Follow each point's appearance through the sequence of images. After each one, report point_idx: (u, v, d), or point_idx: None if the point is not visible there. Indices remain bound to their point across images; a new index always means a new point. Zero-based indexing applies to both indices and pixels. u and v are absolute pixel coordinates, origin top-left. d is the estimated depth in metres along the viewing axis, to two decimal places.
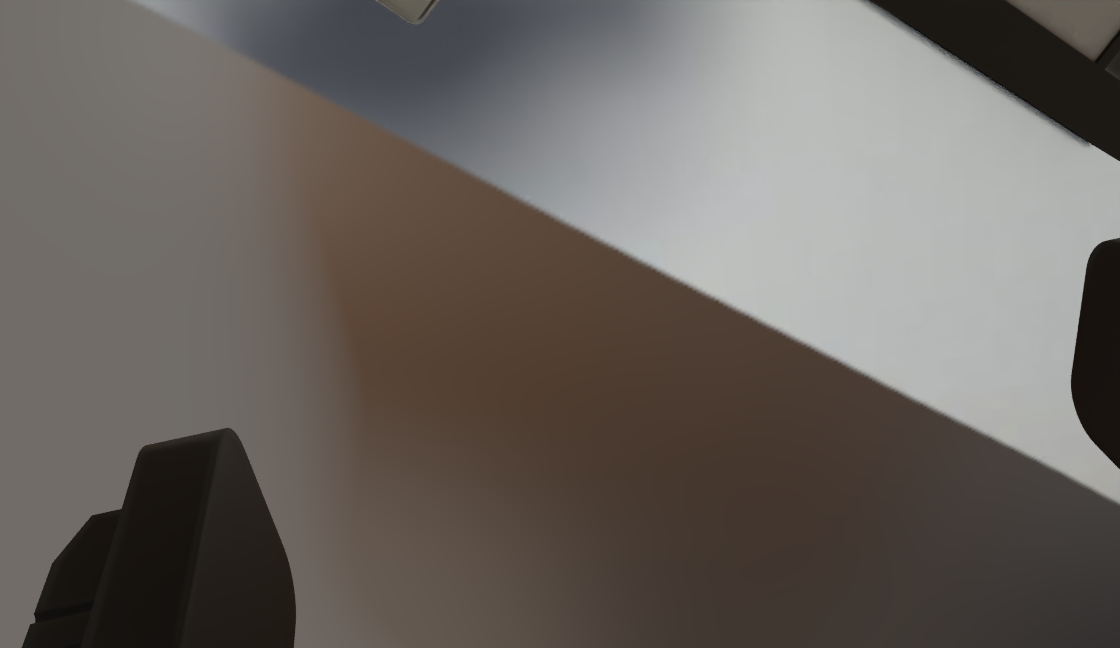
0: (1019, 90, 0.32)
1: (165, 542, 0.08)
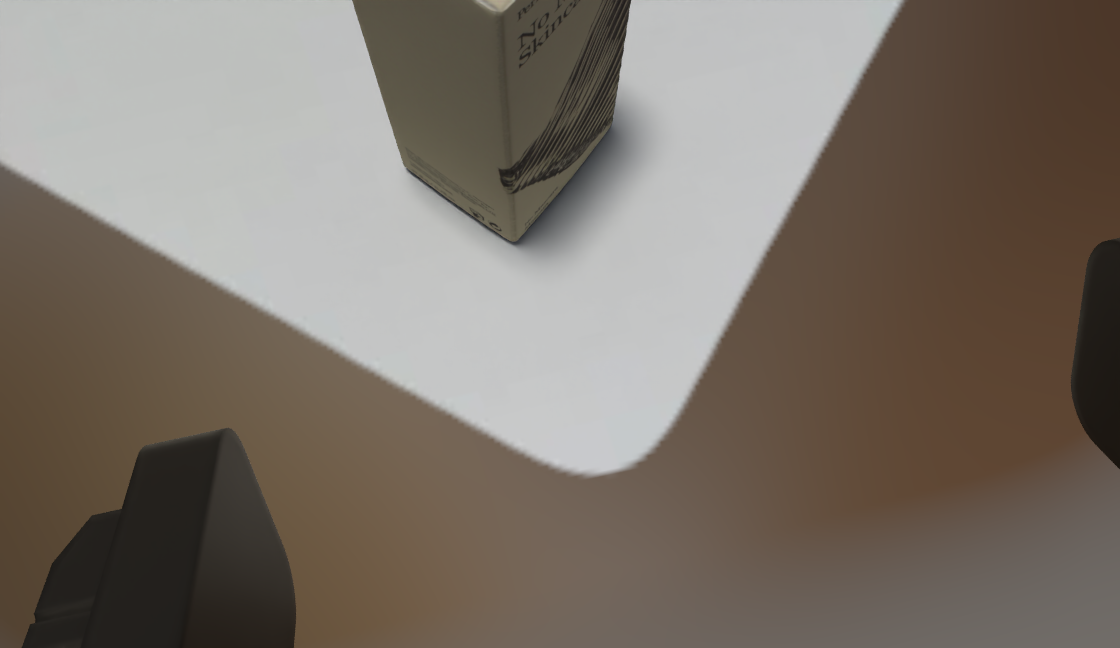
0: None
1: (164, 541, 0.08)
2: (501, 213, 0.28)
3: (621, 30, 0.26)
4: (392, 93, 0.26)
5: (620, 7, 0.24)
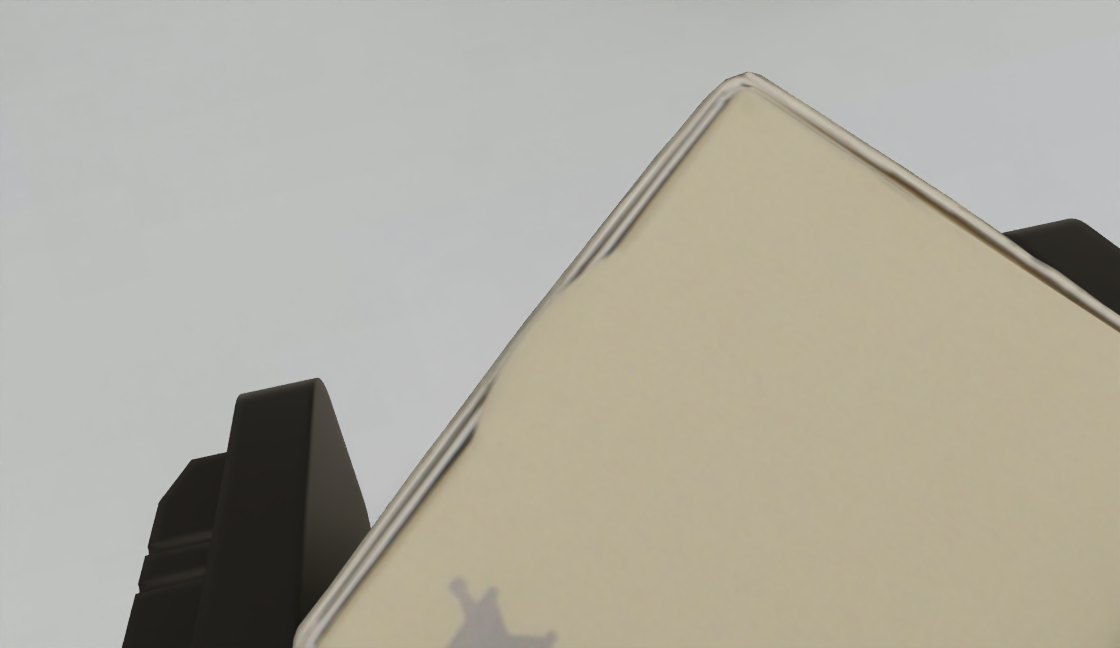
0: None
1: (273, 477, 0.08)
2: None
3: None
4: None
5: None
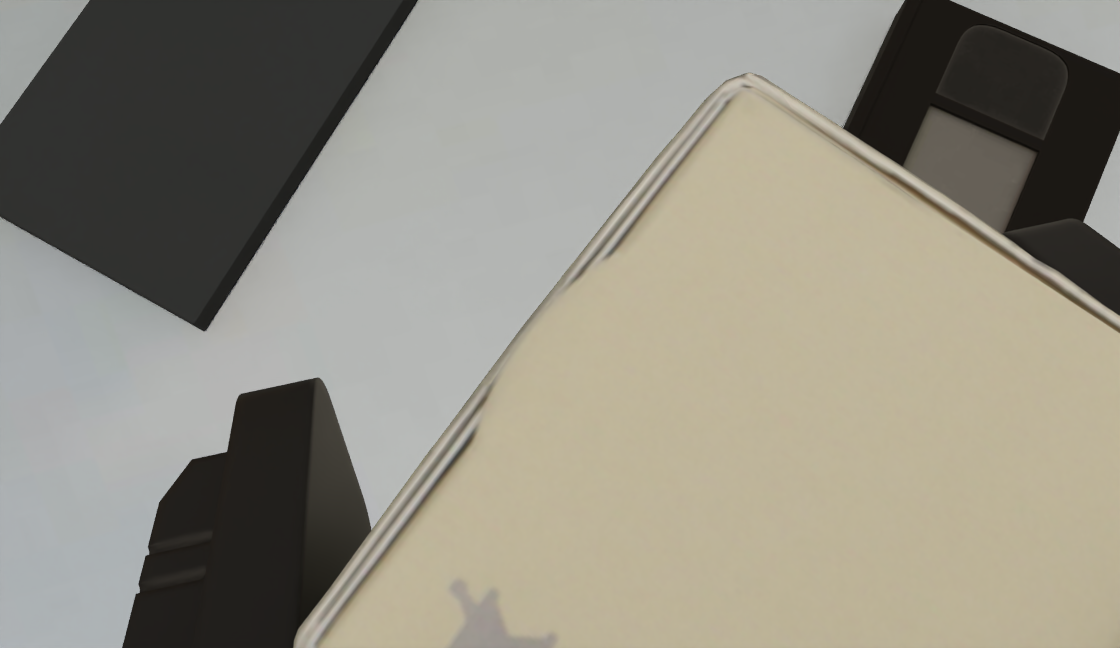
0: None
1: (274, 477, 0.08)
2: None
3: None
4: None
5: None
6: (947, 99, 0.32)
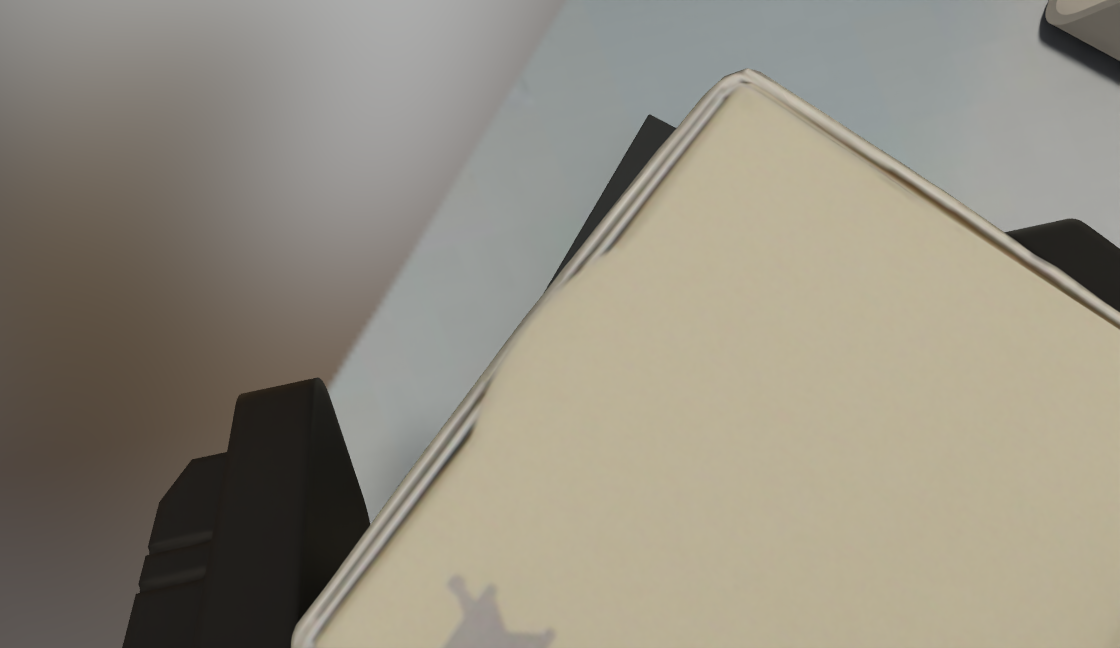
0: None
1: (274, 477, 0.08)
2: None
3: None
4: None
5: None
6: None
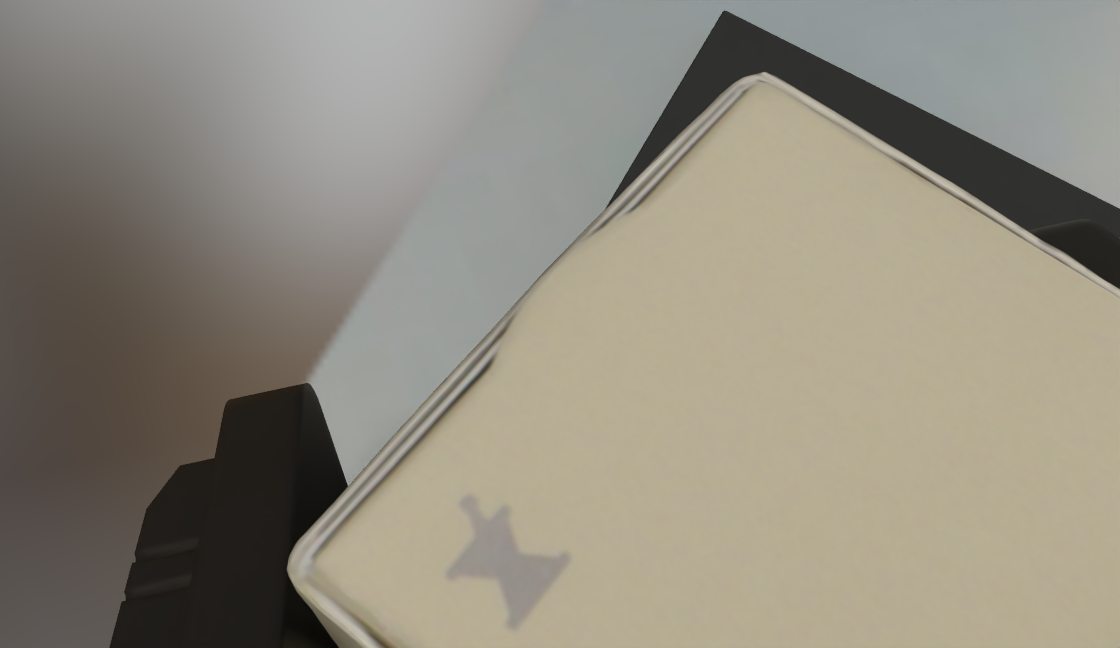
0: None
1: (260, 484, 0.08)
2: None
3: None
4: None
5: None
6: None
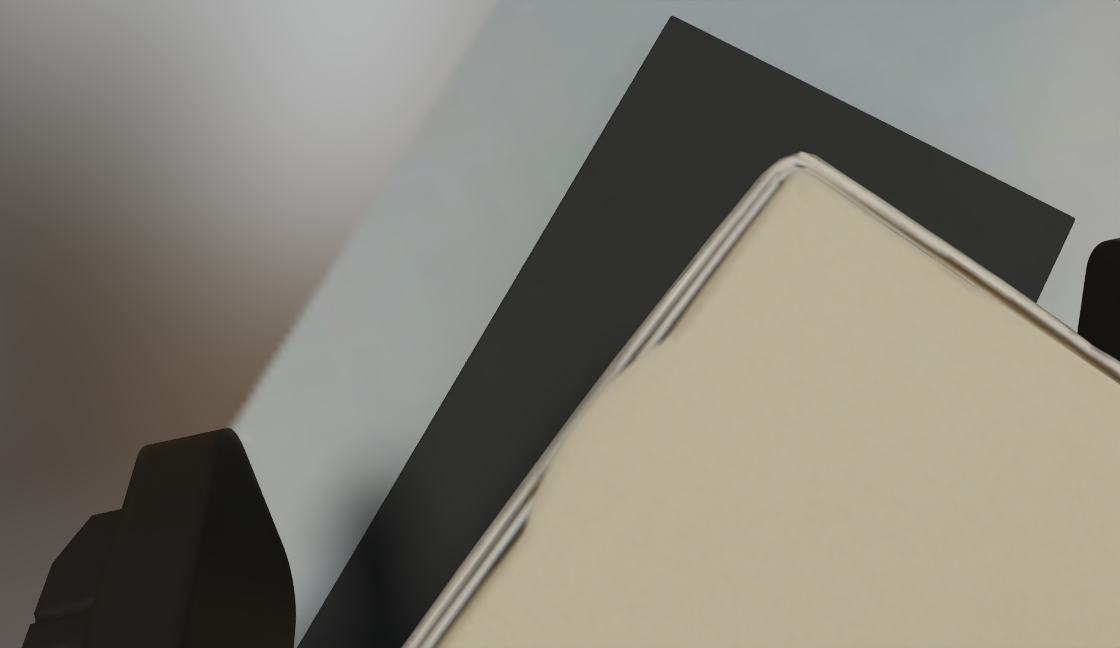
0: None
1: (164, 541, 0.08)
2: None
3: None
4: None
5: None
6: None
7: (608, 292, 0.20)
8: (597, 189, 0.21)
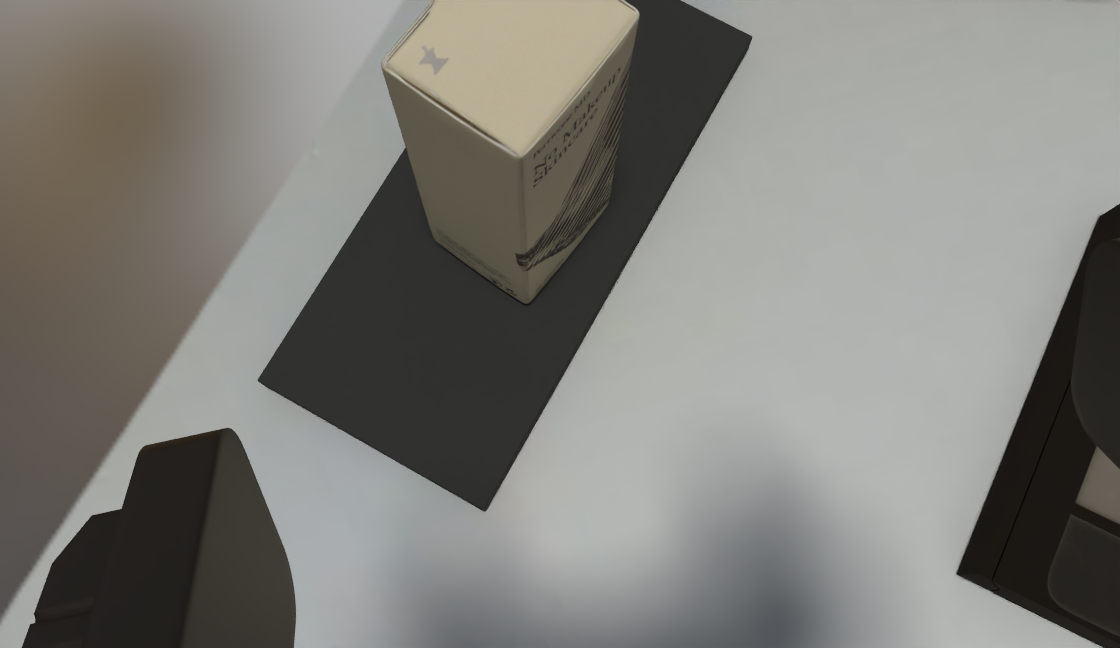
0: None
1: (164, 542, 0.08)
2: (517, 283, 0.34)
3: (615, 139, 0.31)
4: (428, 191, 0.31)
5: (614, 125, 0.30)
6: None
7: None
8: None
